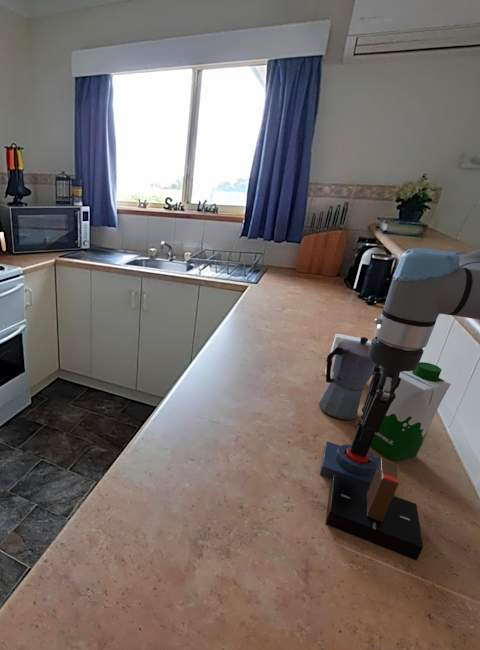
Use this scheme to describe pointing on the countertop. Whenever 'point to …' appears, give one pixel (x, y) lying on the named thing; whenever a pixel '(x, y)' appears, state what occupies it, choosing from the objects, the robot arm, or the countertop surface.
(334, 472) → the button block
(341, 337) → the light grey piece
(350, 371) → the moka pot
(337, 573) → the countertop surface
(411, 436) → the milk carton
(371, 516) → the handle
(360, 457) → the button
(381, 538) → the panel
